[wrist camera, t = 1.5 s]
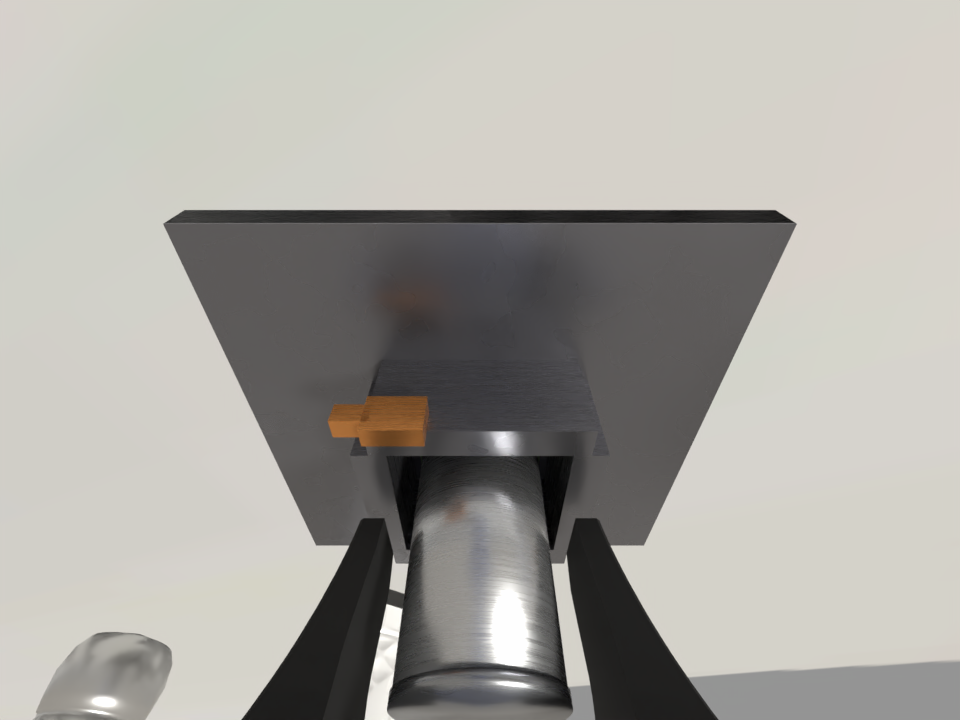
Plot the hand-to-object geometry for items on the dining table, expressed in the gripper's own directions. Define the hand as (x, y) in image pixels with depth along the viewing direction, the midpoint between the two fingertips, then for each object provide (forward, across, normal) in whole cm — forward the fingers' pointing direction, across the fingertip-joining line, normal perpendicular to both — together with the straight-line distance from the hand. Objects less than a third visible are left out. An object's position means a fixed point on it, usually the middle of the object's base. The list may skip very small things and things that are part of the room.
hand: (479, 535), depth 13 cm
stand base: (+5, 0, 0) cm, 5 cm away
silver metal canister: (+4, 0, 0) cm, 4 cm away
